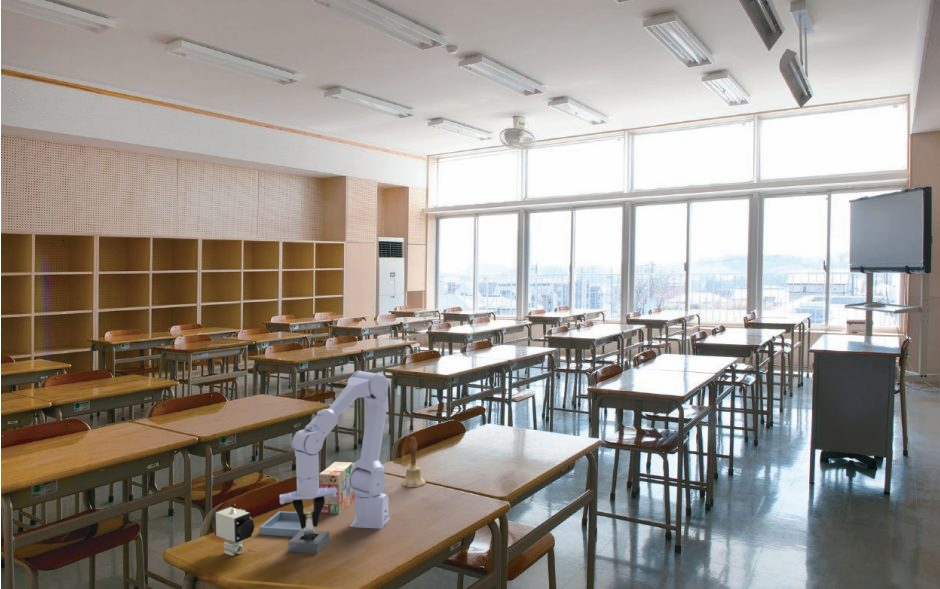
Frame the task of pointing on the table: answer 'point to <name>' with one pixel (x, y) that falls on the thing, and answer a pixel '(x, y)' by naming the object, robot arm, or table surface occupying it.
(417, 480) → the hand bell
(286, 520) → the tray
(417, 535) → the table surface
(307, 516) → the small glass bottle
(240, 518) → the pneumatic valve
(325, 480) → the stack of blocks
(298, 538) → the block
